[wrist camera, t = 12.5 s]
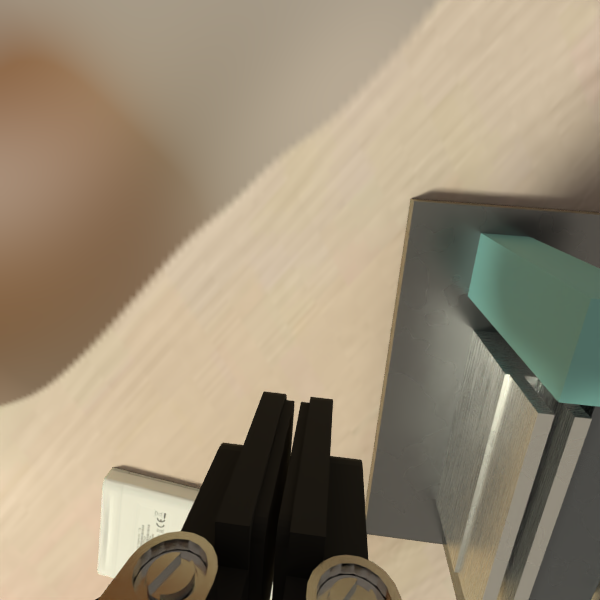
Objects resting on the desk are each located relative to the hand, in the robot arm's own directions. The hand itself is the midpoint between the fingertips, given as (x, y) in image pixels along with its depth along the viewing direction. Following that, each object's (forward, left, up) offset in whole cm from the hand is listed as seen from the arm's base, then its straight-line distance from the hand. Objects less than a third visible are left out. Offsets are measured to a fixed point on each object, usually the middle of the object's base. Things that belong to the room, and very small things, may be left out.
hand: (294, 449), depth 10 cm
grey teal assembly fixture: (-4, -11, -11) cm, 16 cm away
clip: (+3, -9, -10) cm, 14 cm away
